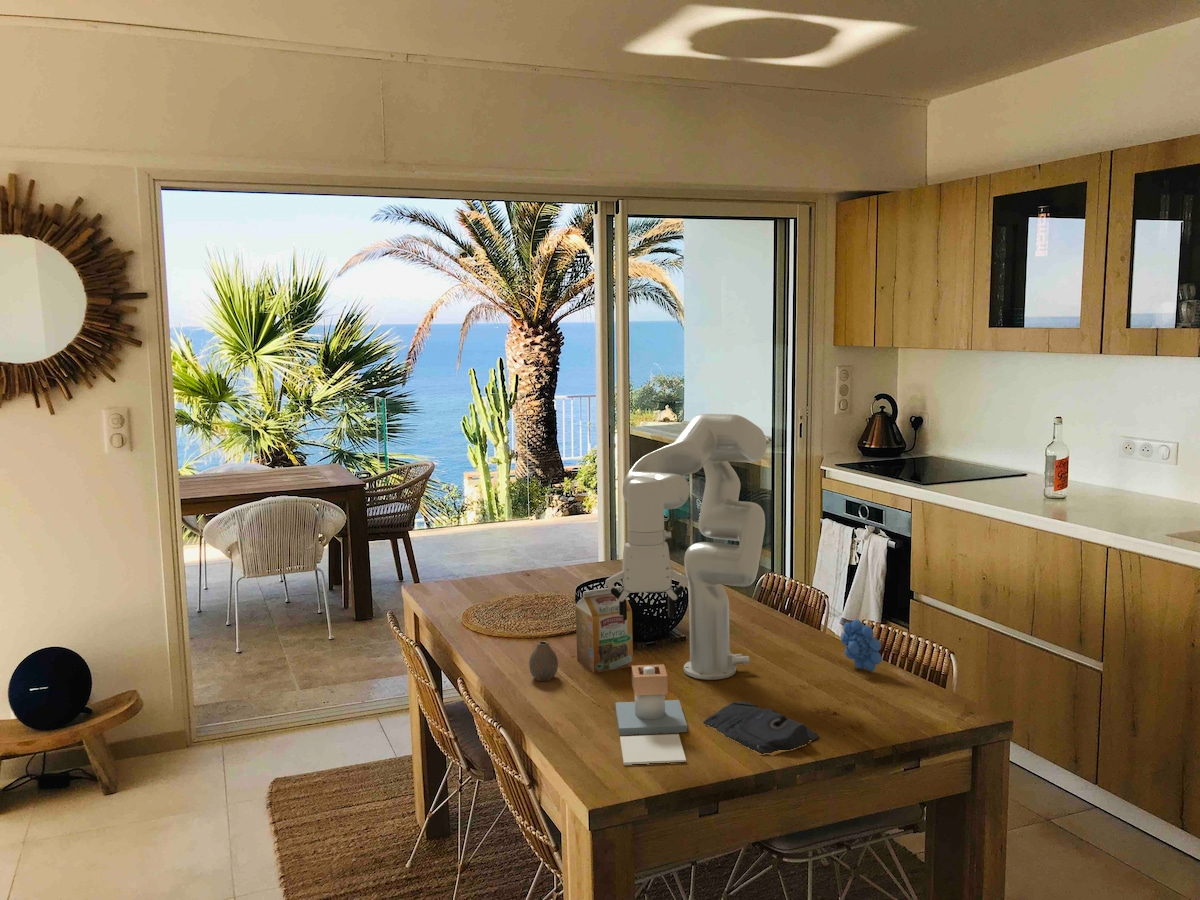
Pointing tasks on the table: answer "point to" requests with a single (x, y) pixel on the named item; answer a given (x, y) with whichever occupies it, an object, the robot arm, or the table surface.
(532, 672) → the vase
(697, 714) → the table surface
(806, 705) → the table surface
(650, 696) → the post stand
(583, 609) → the milk carton
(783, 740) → the dark pouch with grommet
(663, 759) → the white mat
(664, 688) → the copper link
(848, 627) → the grapes
